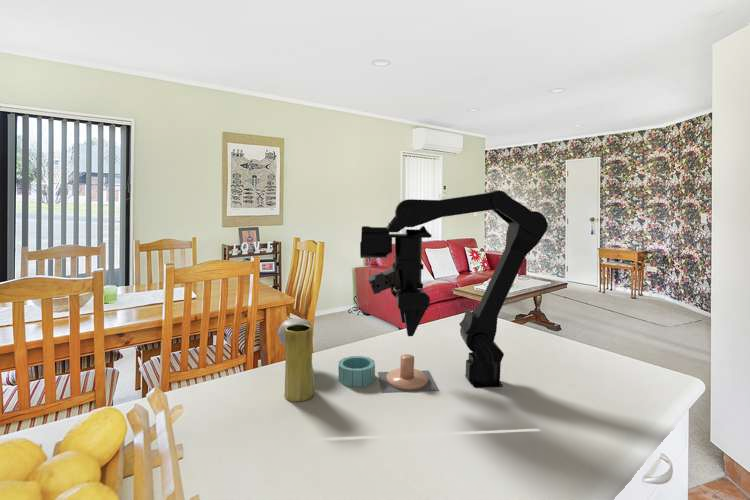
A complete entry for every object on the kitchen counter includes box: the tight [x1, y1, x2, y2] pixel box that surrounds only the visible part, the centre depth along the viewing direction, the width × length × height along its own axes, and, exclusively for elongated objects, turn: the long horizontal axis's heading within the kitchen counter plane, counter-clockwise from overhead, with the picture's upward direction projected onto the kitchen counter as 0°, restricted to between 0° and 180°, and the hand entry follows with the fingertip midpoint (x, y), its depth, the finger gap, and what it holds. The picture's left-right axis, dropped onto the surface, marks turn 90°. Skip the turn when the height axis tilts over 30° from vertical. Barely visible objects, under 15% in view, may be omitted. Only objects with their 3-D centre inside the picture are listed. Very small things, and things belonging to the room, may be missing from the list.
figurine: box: [277, 317, 314, 347], centre depth 95 cm, size 8×8×12 cm
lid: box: [387, 353, 428, 390], centre depth 88 cm, size 9×9×6 cm
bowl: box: [338, 355, 376, 388], centre depth 89 cm, size 8×8×4 cm
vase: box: [283, 324, 315, 402], centre depth 82 cm, size 6×6×14 cm
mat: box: [377, 370, 440, 394], centre depth 89 cm, size 12×10×1 cm
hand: (407, 329), depth 88 cm, fingers open, 9 cm apart
